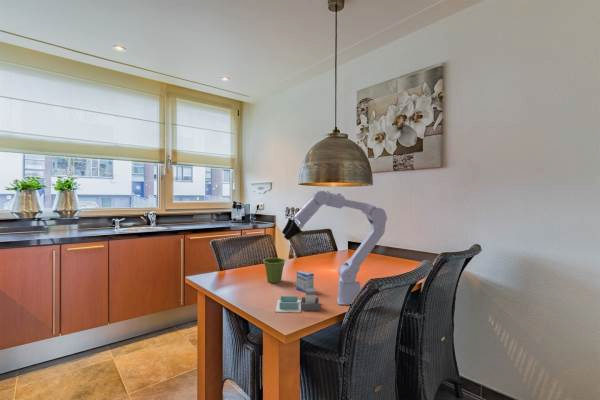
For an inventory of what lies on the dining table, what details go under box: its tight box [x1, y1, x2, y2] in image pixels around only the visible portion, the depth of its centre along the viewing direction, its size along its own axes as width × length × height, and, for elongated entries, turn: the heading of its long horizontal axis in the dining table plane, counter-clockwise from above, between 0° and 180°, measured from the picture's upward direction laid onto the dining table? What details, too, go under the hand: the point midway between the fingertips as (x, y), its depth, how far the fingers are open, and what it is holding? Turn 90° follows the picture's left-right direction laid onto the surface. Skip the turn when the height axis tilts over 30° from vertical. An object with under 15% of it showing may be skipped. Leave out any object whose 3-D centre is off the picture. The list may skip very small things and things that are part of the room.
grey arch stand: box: [301, 296, 321, 311], centre depth 125 cm, size 7×8×2 cm
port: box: [275, 295, 302, 314], centre depth 125 cm, size 10×13×3 cm
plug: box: [305, 287, 316, 304], centre depth 125 cm, size 4×4×7 cm
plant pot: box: [262, 257, 286, 284], centre depth 160 cm, size 12×12×11 cm
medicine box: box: [295, 270, 315, 293], centre depth 146 cm, size 8×4×9 cm, turn 45°
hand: (284, 236), depth 130 cm, fingers open, 7 cm apart
